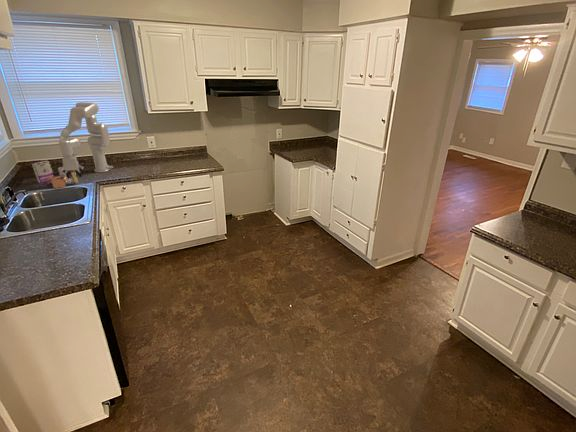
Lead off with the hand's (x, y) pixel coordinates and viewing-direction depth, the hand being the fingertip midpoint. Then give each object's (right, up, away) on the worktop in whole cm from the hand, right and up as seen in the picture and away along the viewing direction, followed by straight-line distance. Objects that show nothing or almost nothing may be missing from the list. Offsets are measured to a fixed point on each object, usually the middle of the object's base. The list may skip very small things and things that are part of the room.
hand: (74, 177), depth 253 cm
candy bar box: (-27, -3, +6) cm, 28 cm away
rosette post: (-10, -5, +2) cm, 12 cm away
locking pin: (0, -5, +2) cm, 5 cm away
